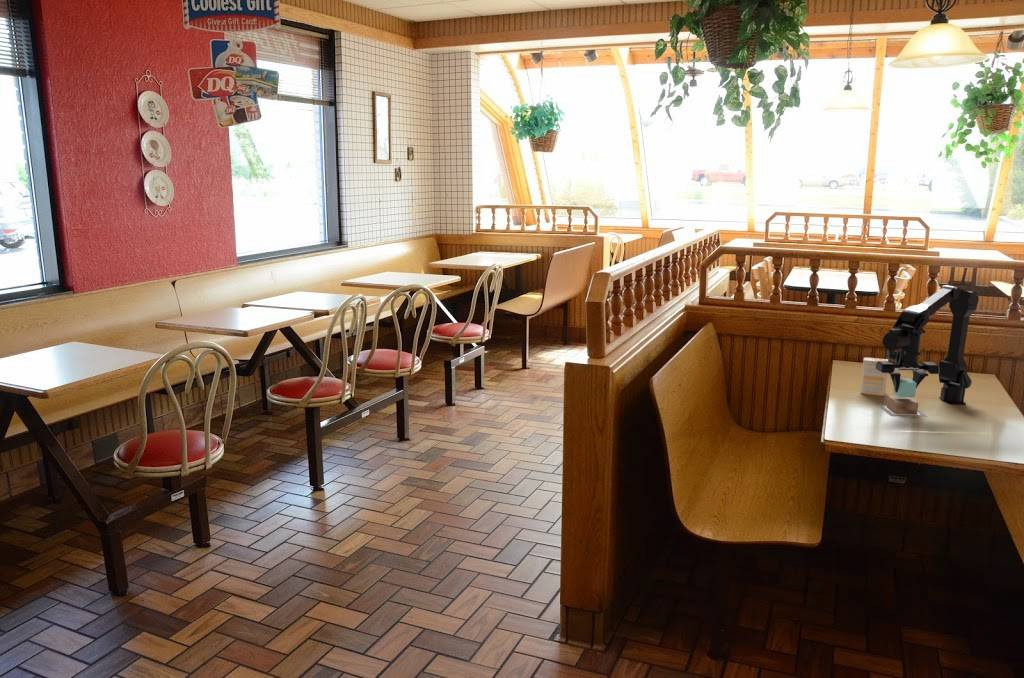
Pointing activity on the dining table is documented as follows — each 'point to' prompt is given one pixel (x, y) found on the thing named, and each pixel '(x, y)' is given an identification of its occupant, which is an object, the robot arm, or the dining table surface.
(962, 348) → the robot arm
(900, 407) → the walnut block
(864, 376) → the supplement box
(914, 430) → the dining table surface
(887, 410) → the mat
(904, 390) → the teal cube
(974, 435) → the dining table surface
